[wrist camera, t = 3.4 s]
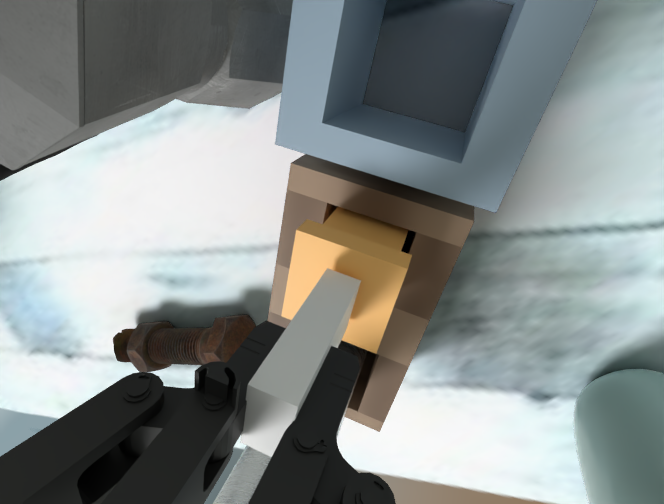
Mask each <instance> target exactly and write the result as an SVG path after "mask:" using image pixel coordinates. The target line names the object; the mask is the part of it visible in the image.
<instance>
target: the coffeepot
mask: <svg viewBox="0 0 664 504" xmlns="http://www.w3.org/2000/svg"><path fill="white" fill-rule="evenodd" d="M292 5H293V0H0V181H1V180H3V179H5V178H7V177H9V176H11V175H13V174H15V173H17V172H19V171H21V170H23V169H25V168H27V167H30V166H32V165H34V164H36V163H38V162H41V161H43V160H46V159H48V158H51V157H53V156H56V155H58V154H60V153H61V152H63V151H65V150H67V149H69V148H71V147H73V146H75V145H77V144H79V143H81V142H83V141H85V140H87V139H90V138H92V137H95V136H97V135H98V134H99V133H102V132H104V131H107V130H109V129H111V128H114V127H116V126H118V125H121V124H123V123H126V122H128V121H130V120H133V119H135V118H137V117H140V116H142V115H145V114H147V113H149V112H152V111H154V110H156V109H158V108H160V107H162V106H163V105H165V104H167V103H169V102H171V101H172V100H174V99H178V100H181V101H184V102H186V103H197V104H207V105H217V106H228V107H238V108H248V109H249V108H251V107H253V106H255V105H257V104H259V103H261V102H263V101H266V100H268V99H270V98H272V97H274V96H275V95H277V94H279V93H281V92H282V86H283V77H284V69H285V61H286V53H287V45H288V37H289V29H290V21H291V13H292Z"/></svg>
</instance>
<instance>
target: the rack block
mask: <svg viewBox="0 0 664 504" xmlns="http://www.w3.org/2000/svg"><path fill="white" fill-rule="evenodd" d="M491 1H496V2H501V3H505V4H510V5H513V8H512V11H511V13H510V16H509V18H508V21H507V24H506V26H505V29H504V32H503V34H502V37H501V39H500V42H499V45H498V47H497V50H496V52H495V55H494V58H493V60H492V63H491V66H490V68H489V71H488V73H487V76H486V79H485V81H484V84H483V86H482V89H481V92H480V94H479V97H478V100H477V102H476V105H475V107H474V110H473V113H472V115H471V118H470V121H469V123H468V126H467V128H466V131H465V132H462V131H458V130H455V129H451V128H448V127H444V126H440V125H437V124H433V123H430V122H426V121H422V120H419V119H415V118H412V117H408V116H404V115H401V114H397V113H394V112H390V111H386V110H383V109H379V108H376V107H372V106H368V105H365V104H363V100H364V96H365V92H366V88H367V83H368V79H369V75H370V70H371V66H372V62H373V58H374V53H375V49H376V45H377V40H378V36H379V32H380V27H381V23H382V19H383V15H384V10H385V6H386V2H387V0H293V5H292V13H291V21H290V29H289V37H288V45H287V53H286V61H285V69H284V77H283V86H282V94H281V102H280V110H279V118H278V126H277V134H276V142H275V144H276V145H279V146H282V147H285V148H289V149H292V150H295V151H298V152H301V153H305V154H308V155H311V156H314V157H317V158H321V159H324V160H327V161H330V162H334V163H337V164H340V165H343V166H346V167H350V168H353V169H356V170H359V171H363V172H366V173H369V174H372V175H375V176H379V177H382V178H385V179H388V180H392V181H395V182H398V183H401V184H404V185H408V186H411V187H414V188H417V189H421V190H424V191H427V192H430V193H433V194H437V195H440V196H443V197H446V198H449V199H453V200H456V201H459V202H462V203H466V204H469V205H472V206H475V207H478V208H482V209H485V210H488V211H491V212H495V213H496V212H497V210H498V208H499V206H500V203H501V201H502V199H503V197H504V195H505V193H506V191H507V189H508V187H509V185H510V182H511V180H512V178H513V176H514V174H515V172H516V170H517V168H518V166H519V164H520V162H521V159H522V157H523V155H524V153H525V151H526V149H527V147H528V145H529V143H530V141H531V138H532V136H533V134H534V132H535V130H536V128H537V126H538V124H539V122H540V120H541V118H542V115H543V113H544V111H545V109H546V107H547V105H548V103H549V101H550V99H551V97H552V94H553V92H554V90H555V88H556V86H557V84H558V82H559V80H560V78H561V76H562V74H563V71H564V69H565V67H566V65H567V63H568V61H569V59H570V57H571V55H572V53H573V50H574V48H575V46H576V44H577V42H578V40H579V38H580V36H581V34H582V32H583V30H584V27H585V25H586V23H587V21H588V19H589V17H590V15H591V13H592V11H593V9H594V6H595V4H596V2H597V0H491Z"/></svg>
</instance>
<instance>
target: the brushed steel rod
mask: <svg viewBox="0 0 664 504" xmlns="http://www.w3.org/2000/svg"><path fill="white" fill-rule="evenodd" d="M338 349H340V350H343V351H345V352H348V353H350V354H353V355H355V356H358V360H359V368H360V370H359V373H358V376H357V379H356V381H355V384H354V387H353V390H352V393H351V396H350V398H349V401H348V404H347V407H346V409H345V412H344V415H343V418H342V420H341V423H340V426H339V429H338V431H337V436H338V433H339V430H340V428H341V425H342V422H343V419H344V416H345V414H346V411H347V408H348V405H349V402H350V400H351V397H352V394H353V391H354V388H355V385H356V383H357V380H358V377H359V374H360V371H361V369H362V366H363V363H364V360H365V357H366V355H367V352H368V350H365V349H363V348H360V347H357V346H355V345H352V344H350V343H347V342H345V341H342V340H341V342H340V344H339V346H338ZM337 436H336V439H337ZM270 459H271V457H270V456H268V455H266V454H264V453H262V452H260V451H258V450H255V449H253V448H251V447H249V446H246V447H245V449H244V451H243V453H242V454H241V456H240V458H239V460H238V461H237V463H236V465H235V467H234V468H233V470H232V472H231V473H230V475H229V477H228V479H227V480H226V482H225V484H224V486H223V487H222V489H221V491H220V492H219V494H218V496H217V498H216V499H215V501H214V503H213V504H248V503H249V501H250V499H251V497H252V495H253V493H254V491H255V489H256V487H257V485H258V483H259V481H260V479H261V477H262V475H263V473H264V471H265V469H266V467H267V465H268V463H269V461H270Z"/></svg>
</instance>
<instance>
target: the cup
mask: <svg viewBox="0 0 664 504" xmlns="http://www.w3.org/2000/svg"><path fill="white" fill-rule="evenodd" d="M573 427H574V437H575V444H576V449H577V455H578V460H579V465H580V469H581V474H582V478H583V482H584V487H585V491H586V495H587V499H588V503H589V504H664V373H662V372H658V371H654V370H647V369H625V370H619V371H615V372H611V373H608V374H605V375H603V376H601V377H599V378H597V379H595V380H594V381H592V382H591V383H589V384H588V385H587V386H586V387H585V388H584V389H583V390H582V391H581V393H580V395H579V397H578V398H577V400H576V403H575V408H574V416H573Z"/></svg>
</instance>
